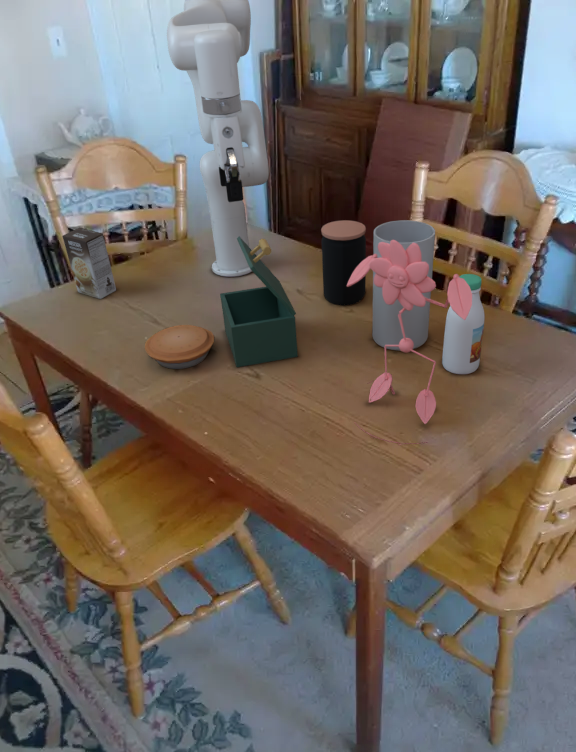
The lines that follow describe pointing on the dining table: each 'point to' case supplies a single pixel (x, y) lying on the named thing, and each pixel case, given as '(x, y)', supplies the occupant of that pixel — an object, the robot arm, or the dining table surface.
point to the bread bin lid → (265, 271)
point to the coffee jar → (343, 261)
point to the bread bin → (258, 327)
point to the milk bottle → (464, 333)
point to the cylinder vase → (386, 315)
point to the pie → (180, 346)
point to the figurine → (408, 305)
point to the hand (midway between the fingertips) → (232, 192)
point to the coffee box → (89, 262)
